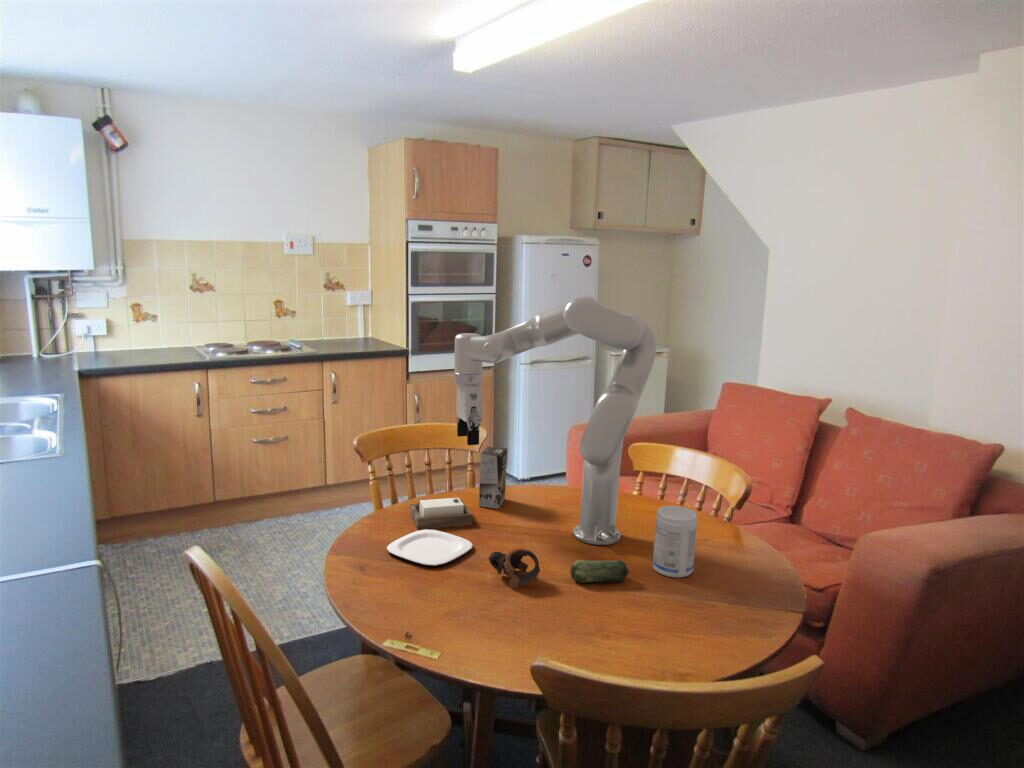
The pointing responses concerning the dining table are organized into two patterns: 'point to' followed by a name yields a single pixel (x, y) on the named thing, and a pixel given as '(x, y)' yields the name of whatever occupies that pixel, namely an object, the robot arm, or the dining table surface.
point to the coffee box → (492, 477)
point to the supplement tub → (674, 541)
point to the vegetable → (599, 571)
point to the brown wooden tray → (440, 518)
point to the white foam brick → (441, 507)
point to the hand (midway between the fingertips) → (467, 440)
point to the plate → (430, 547)
